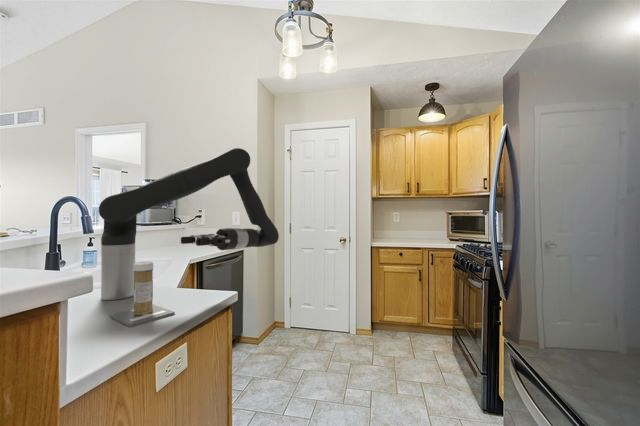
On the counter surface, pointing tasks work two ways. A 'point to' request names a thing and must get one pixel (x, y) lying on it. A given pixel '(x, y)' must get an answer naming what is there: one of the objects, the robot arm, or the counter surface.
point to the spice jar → (143, 287)
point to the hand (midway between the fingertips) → (188, 241)
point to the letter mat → (140, 316)
